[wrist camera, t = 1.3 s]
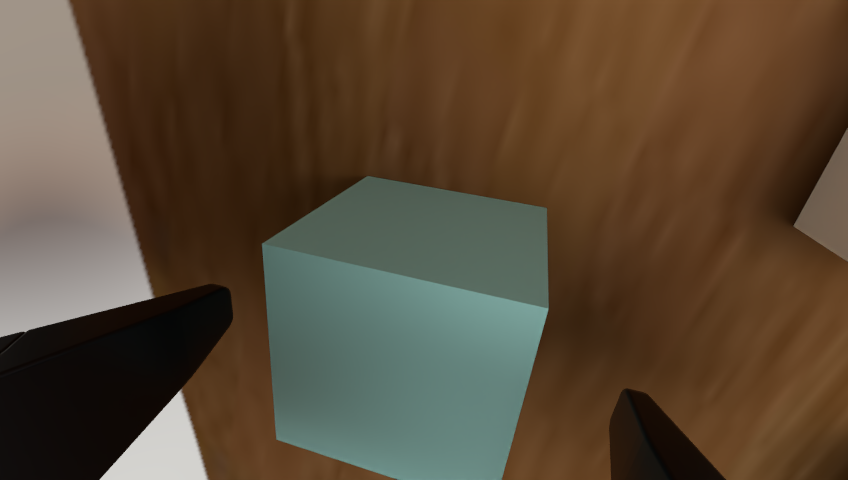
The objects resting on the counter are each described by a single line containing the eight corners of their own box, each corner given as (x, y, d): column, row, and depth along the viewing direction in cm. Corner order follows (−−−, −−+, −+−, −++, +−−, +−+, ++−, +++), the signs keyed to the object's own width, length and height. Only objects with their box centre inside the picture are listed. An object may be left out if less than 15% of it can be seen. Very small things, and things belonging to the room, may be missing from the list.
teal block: (510, 356, 13) (493, 511, 8) (362, 318, 14) (276, 439, 9) (546, 207, 11) (548, 308, 6) (368, 175, 12) (261, 243, 7)
